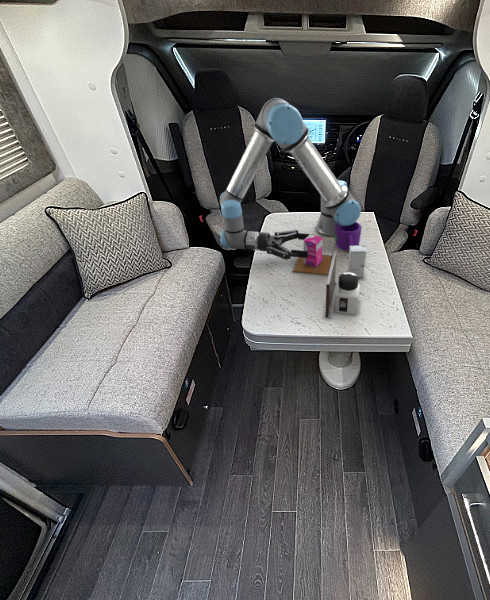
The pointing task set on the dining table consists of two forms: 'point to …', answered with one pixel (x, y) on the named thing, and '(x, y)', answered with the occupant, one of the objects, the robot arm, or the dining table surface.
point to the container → (347, 293)
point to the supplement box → (313, 250)
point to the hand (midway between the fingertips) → (310, 245)
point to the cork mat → (320, 269)
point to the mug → (347, 236)
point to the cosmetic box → (357, 260)
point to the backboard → (330, 284)
